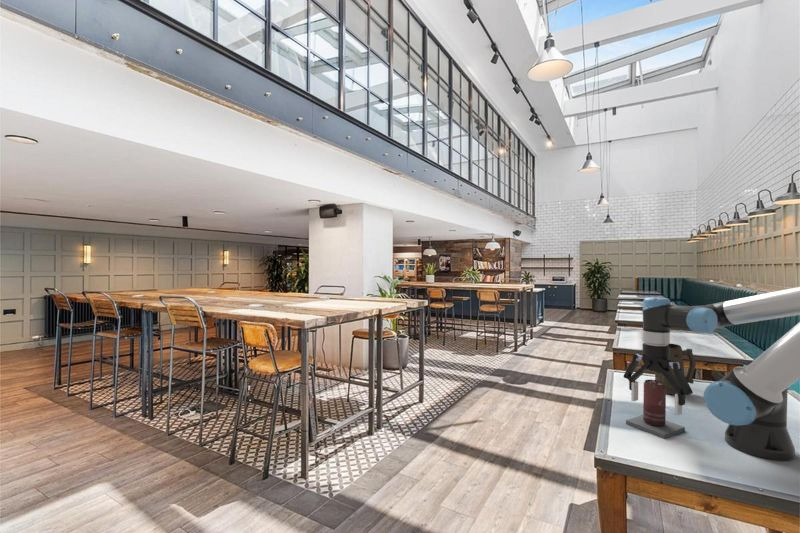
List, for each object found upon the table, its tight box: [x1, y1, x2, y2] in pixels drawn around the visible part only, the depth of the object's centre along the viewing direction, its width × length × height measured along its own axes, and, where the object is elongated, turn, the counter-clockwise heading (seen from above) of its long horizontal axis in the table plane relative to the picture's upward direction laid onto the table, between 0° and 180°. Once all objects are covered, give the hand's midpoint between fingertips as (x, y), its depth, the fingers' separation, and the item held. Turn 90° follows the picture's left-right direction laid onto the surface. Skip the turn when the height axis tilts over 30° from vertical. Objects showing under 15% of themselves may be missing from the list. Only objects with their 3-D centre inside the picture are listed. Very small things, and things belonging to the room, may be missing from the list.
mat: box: [625, 414, 686, 439], centre depth 125 cm, size 12×12×1 cm
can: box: [642, 379, 667, 427], centre depth 125 cm, size 6×6×14 cm
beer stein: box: [654, 343, 697, 396], centre depth 159 cm, size 15×11×20 cm
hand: (655, 407), depth 125 cm, fingers open, 13 cm apart
